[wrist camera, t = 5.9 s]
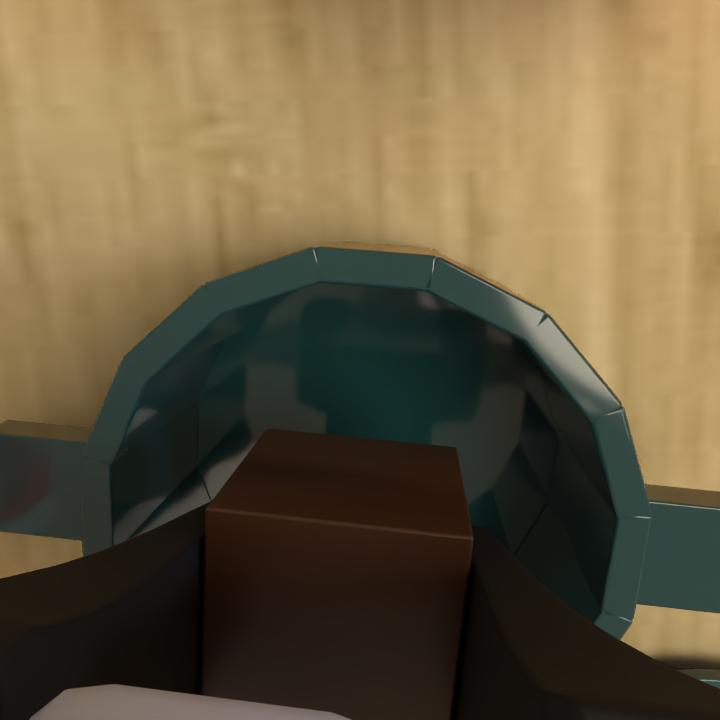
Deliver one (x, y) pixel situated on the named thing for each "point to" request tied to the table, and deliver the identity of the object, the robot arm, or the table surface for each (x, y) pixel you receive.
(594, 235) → the table surface
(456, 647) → the block
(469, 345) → the pot
